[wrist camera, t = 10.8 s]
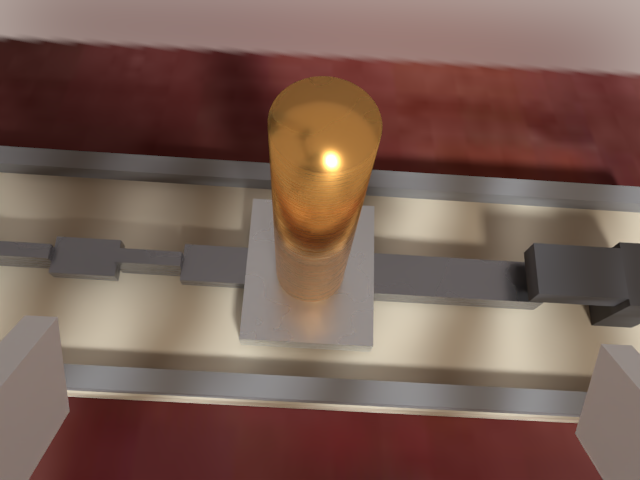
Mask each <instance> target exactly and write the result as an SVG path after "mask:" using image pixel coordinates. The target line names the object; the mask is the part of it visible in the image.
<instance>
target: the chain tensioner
mask: <svg viewBox="0 0 640 480" xmlns="http://www.w3.org/2000/svg"><path fill="white" fill-rule="evenodd" d="M381 134H382V119H381V115H380V112H379V109H378V107H377V106H376V104H375V102H374V101H373V99H372V98H371V97H370V96H369V95H368V94H367V93H366V92H365V91H364V90H362V89H361V88H360V87H358V86H357V85H355V84H353V83H351V82H349V81H346V80H343V79H339V78H335V77H327V76H319V77H311V78H306V79H303V80H300V81H298V82H295V83H293V84H292V85H290V86H288V87H287V88H286V89H284V90H283V91H282V92H281V93H280V94H279V95H278V96H277V98H276V99H275V100H274V102H273V104H272V106H271V108H270V111H269V115H268V140H269V157H270V174H271V191H272V200H268V199H253V205H252V215H251V225H250V235H249V245H248V248H242V247H225V246H209V245H192V244H185V247H184V254H183V253H182V252H178V251H161V250H144V249H127V248H125V245H124V244H123V242H122V241H121V240H109V239H92V238H76V237H59V236H57V238H56V243H55V247H54V246H53V245H52V244H44V243H27V242H10V241H0V266H13V267H30V268H47V269H49V272H48V273H50V274H51V275H52V276H53V277H56V278H73V279H91V280H108V281H118V280H119V275H120V270H121V271H122V273H132V274H149V275H167V276H180V282H181V283H182V285H194V286H211V287H229V288H244V295H243V305H242V315H241V325H240V335H239V340H240V343H241V345H252V346H271V347H289V348H307V349H325V350H343V351H361V352H370V351H371V349H372V348H373V315H374V301H387V302H404V303H422V304H439V305H456V306H474V307H491V308H508V309H525V310H534V309H536V308H537V307H538V306H540V305H541V304H543V302H529V300H528V290H527V280H526V270H525V262H514V261H497V260H481V259H464V258H447V257H431V256H414V255H398V254H381V253H374V206H364V205H363V202H364V198H365V195H366V191H367V187H368V183H369V180H370V176H371V172H372V168H373V165H374V161H375V157H376V153H377V150H378V146H379V142H380V138H381Z"/></svg>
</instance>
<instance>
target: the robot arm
mask: <svg viewBox="0 0 640 480" xmlns="http://www.w3.org/2000/svg"><path fill="white" fill-rule="evenodd" d="M68 413H69V404H68V396H67V388H66V380H65V372H64V364H63V356H62V348H61V340H60V332H59V324H58V317H48V316H28V315H25V316H24V317H23V318H22V319H21V320H20V321H19V322H18V323H17V324H16V326H15V327H14V328H13V329H12V330H11V331H10V332H9V333H8V334H7V335H6V336H5V337H4V339H3V340H2V341H1V342H0V480H29V478H30V476H31V475H32V473H33V471H34V470H35V468H36V466H37V465H38V463H39V461H40V460H41V458H42V456H43V455H44V453H45V451H46V450H47V448H48V446H49V445H50V443H51V441H52V440H53V438H54V436H55V435H56V433H57V431H58V430H59V428H60V426H61V425H62V423H63V421H64V420H65V418H66V416H67V415H68ZM575 434H576V436H577V437H578V439H579V441H580V442H581V444H582V446H583V447H584V449H585V451H586V452H587V454H588V456H589V457H590V459H591V461H592V462H593V464H594V465H595V467H596V469H597V470H598V472H599V474H600V475H601V477H602V479H603V480H640V354H639V353H638V351H637V350H636V349H635V348H634V347H633V346H632V345H614V344H601V346H600V350H599V353H598V357H597V360H596V364H595V367H594V370H593V374H592V377H591V381H590V384H589V388H588V391H587V395H586V398H585V402H584V405H583V408H582V412H581V415H580V419H579V422H578V426H577V429H576V433H575Z"/></svg>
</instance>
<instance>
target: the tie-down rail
mask: <svg viewBox="0 0 640 480" xmlns="http://www.w3.org/2000/svg"><path fill="white" fill-rule="evenodd" d="M253 199H268V200H272V191H271V174H270V163H260V162H244V161H228V160H213V159H197V158H182V157H166V156H151V155H135V154H120V153H104V152H88V151H73V150H57V149H42V148H26V147H11V146H0V241H10V242H27V243H44V244H52V245H53V246H54V247H55V243H56V238H57V236H59V237H76V238H92V239H109V240H121V241H122V242H123V244H124V245H125V248H127V249H144V250H161V251H178V252H182V253H183V254H184V247H185V244H192V245H209V246H225V247H242V248H248V245H249V235H250V225H251V215H252V205H253ZM363 205H364V206H374V253H381V254H398V255H414V256H431V257H447V258H464V259H481V260H497V261H514V262H525V270H526V280H527V290H528V300H529V302H543V304H541V305H540V306H538V307H537V308H536V309H534V310H525V309H508V308H491V307H474V306H456V305H439V304H422V303H404V302H387V301H374V315H373V348H372V349H371V351H370V352H361V351H343V350H325V349H307V348H289V347H271V346H252V345H241V343H240V340H239V335H240V325H241V315H242V305H243V295H244V288H229V287H211V286H194V285H182V283H181V282H180V276H167V275H149V274H132V273H122V271H121V270H120V275H119V280H118V281H108V280H91V279H73V278H56V277H53V276H52V275H51V274H50V273H48V272H49V269H47V268H30V267H13V266H0V342H1V341H2V340H3V339H4V337H5V336H6V335H7V334H8V333H9V332H10V331H11V330H12V329H13V328H14V327H15V326H16V324H17V323H18V322H19V321H20V320H21V319H22V318H23V317H24V316H25V315H28V316H48V317H58V324H59V332H60V340H61V348H62V356H63V364H64V372H65V380H66V388H67V396H69V397H88V398H107V399H126V400H145V401H164V402H184V403H203V404H222V405H241V406H260V407H279V408H298V409H317V410H337V411H356V412H375V413H394V414H413V415H432V416H451V417H471V418H490V419H509V420H528V421H547V422H566V423H578V422H579V419H580V415H581V412H582V408H583V405H584V402H585V398H586V395H587V391H588V388H589V384H590V381H591V377H592V374H593V370H594V367H595V364H596V360H597V357H598V353H599V350H600V346H601V344H614V345H632V346H633V347H634V348H635V349H636V350H637V351H638V353H639V354H640V187H633V186H617V185H602V184H586V183H571V182H555V181H540V180H524V179H508V178H493V177H477V176H462V175H446V174H431V173H415V172H400V171H384V170H372V172H371V176H370V180H369V183H368V187H367V191H366V195H365V198H364V202H363Z"/></svg>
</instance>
